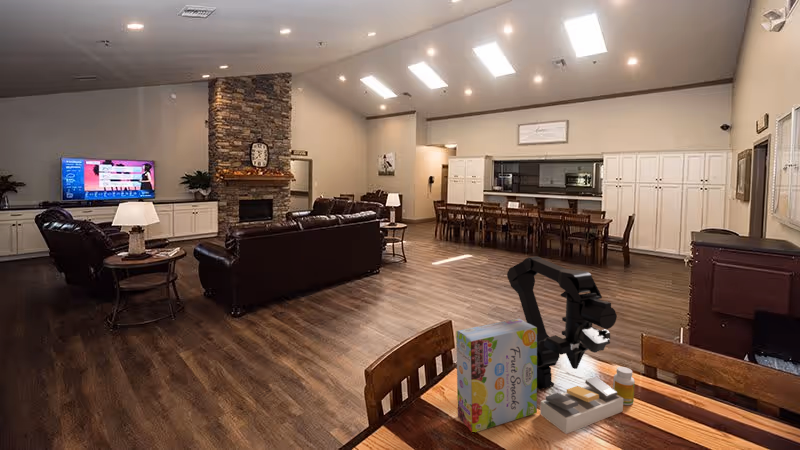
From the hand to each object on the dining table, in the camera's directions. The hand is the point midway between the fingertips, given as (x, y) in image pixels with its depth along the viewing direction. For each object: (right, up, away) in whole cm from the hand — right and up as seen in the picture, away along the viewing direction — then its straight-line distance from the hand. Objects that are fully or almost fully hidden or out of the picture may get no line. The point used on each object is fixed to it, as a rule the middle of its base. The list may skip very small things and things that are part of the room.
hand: (574, 368), depth 107 cm
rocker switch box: (+1, -12, -1) cm, 12 cm away
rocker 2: (+8, -6, +1) cm, 10 cm away
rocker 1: (-6, -7, -5) cm, 11 cm away
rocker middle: (+1, -7, -2) cm, 7 cm away
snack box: (-23, -13, -2) cm, 26 cm away
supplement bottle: (+16, -12, +4) cm, 20 cm away
